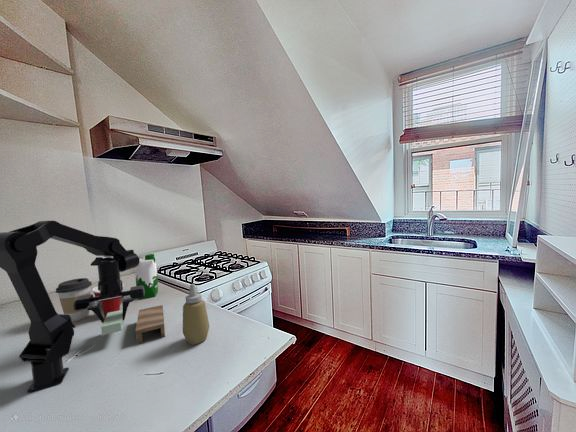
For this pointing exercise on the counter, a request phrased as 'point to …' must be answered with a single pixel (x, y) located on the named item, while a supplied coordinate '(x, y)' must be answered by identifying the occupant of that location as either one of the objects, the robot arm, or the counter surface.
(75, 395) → the counter surface
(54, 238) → the robot arm
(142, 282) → the milk carton
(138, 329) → the bench
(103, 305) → the plastic cup
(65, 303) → the coffee cup
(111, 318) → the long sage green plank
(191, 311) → the squeeze bottle
